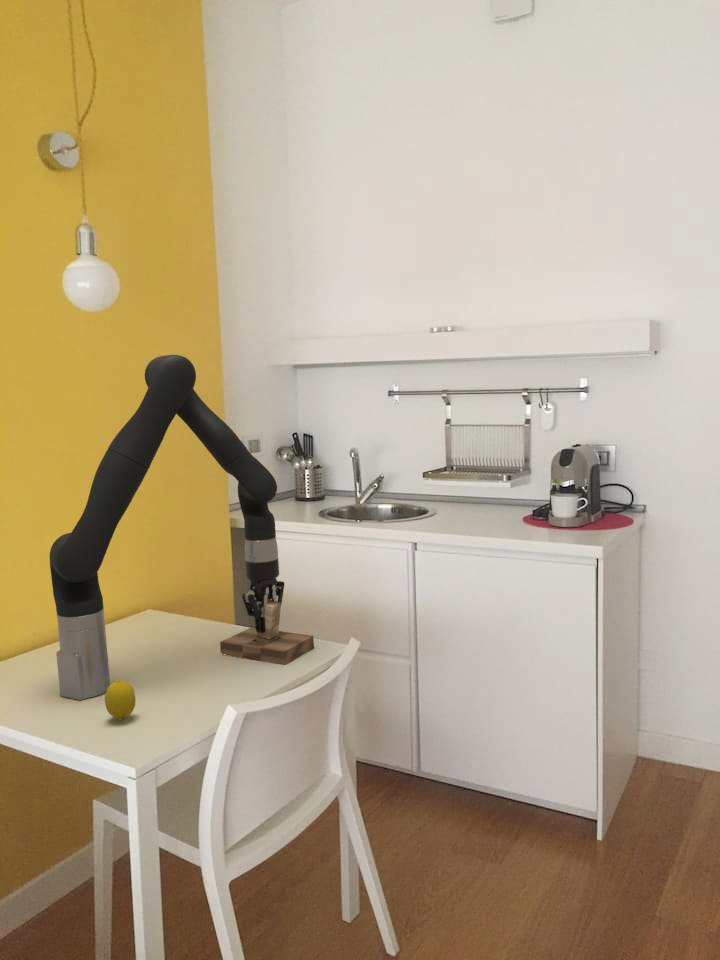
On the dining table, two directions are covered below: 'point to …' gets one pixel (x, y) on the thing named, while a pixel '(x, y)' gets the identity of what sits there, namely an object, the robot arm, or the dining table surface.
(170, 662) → the dining table surface
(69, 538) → the robot arm
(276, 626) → the beech peg
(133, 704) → the lemon
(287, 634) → the walnut board
